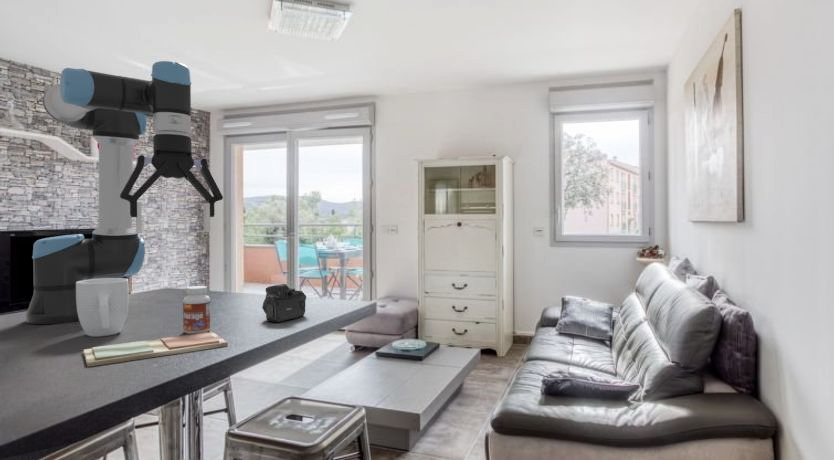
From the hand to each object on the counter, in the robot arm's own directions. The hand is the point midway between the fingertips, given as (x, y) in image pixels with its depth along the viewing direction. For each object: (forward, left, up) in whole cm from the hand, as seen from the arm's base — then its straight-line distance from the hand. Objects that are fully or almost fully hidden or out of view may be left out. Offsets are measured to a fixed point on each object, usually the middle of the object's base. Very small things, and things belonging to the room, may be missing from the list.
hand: (174, 232), depth 111 cm
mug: (-22, -12, -25) cm, 36 cm away
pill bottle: (-12, +7, -25) cm, 29 cm away
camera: (-14, +30, -25) cm, 42 cm away
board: (+1, -4, -25) cm, 25 cm away
